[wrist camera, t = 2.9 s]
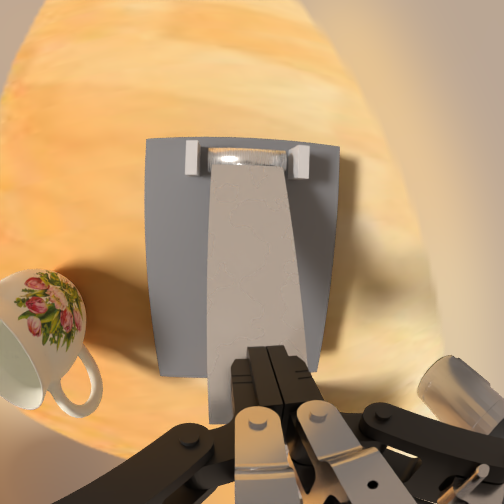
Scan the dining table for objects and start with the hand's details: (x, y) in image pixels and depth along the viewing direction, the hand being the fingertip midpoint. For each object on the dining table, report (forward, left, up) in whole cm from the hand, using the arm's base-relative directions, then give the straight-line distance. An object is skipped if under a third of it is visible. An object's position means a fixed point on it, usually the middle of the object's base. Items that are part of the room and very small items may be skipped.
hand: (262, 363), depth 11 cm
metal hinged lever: (0, -2, -7) cm, 7 cm away
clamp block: (0, 0, -17) cm, 17 cm away
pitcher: (+20, +6, -17) cm, 27 cm away
